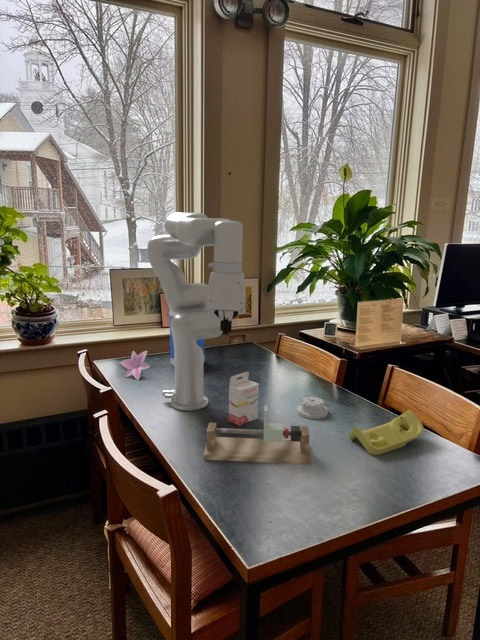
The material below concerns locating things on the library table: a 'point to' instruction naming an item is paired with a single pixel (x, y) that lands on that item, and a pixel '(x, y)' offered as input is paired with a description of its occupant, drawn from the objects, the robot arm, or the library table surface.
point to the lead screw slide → (258, 446)
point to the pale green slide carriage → (272, 430)
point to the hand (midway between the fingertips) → (225, 333)
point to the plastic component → (389, 434)
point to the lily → (135, 364)
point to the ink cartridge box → (243, 399)
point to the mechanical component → (312, 408)
